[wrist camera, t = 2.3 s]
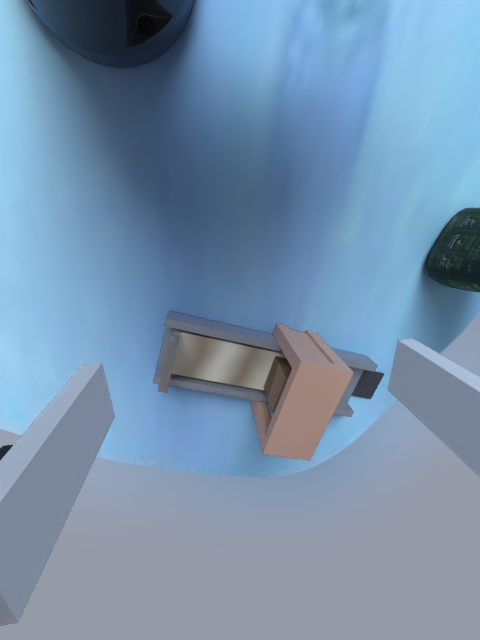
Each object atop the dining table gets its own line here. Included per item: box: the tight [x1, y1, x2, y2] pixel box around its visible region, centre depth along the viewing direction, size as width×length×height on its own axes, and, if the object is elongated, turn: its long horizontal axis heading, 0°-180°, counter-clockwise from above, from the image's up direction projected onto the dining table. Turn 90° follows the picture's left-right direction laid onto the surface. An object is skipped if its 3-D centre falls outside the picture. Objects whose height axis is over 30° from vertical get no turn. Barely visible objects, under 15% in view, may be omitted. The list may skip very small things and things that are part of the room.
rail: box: [153, 311, 378, 417], centre depth 37 cm, size 29×9×3 cm, turn 74°
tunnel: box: [250, 323, 354, 460], centre depth 34 cm, size 6×12×10 cm, turn 164°
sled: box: [158, 328, 292, 412], centre depth 33 cm, size 19×6×6 cm, turn 74°
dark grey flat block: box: [352, 370, 384, 399], centre depth 41 cm, size 4×5×1 cm
